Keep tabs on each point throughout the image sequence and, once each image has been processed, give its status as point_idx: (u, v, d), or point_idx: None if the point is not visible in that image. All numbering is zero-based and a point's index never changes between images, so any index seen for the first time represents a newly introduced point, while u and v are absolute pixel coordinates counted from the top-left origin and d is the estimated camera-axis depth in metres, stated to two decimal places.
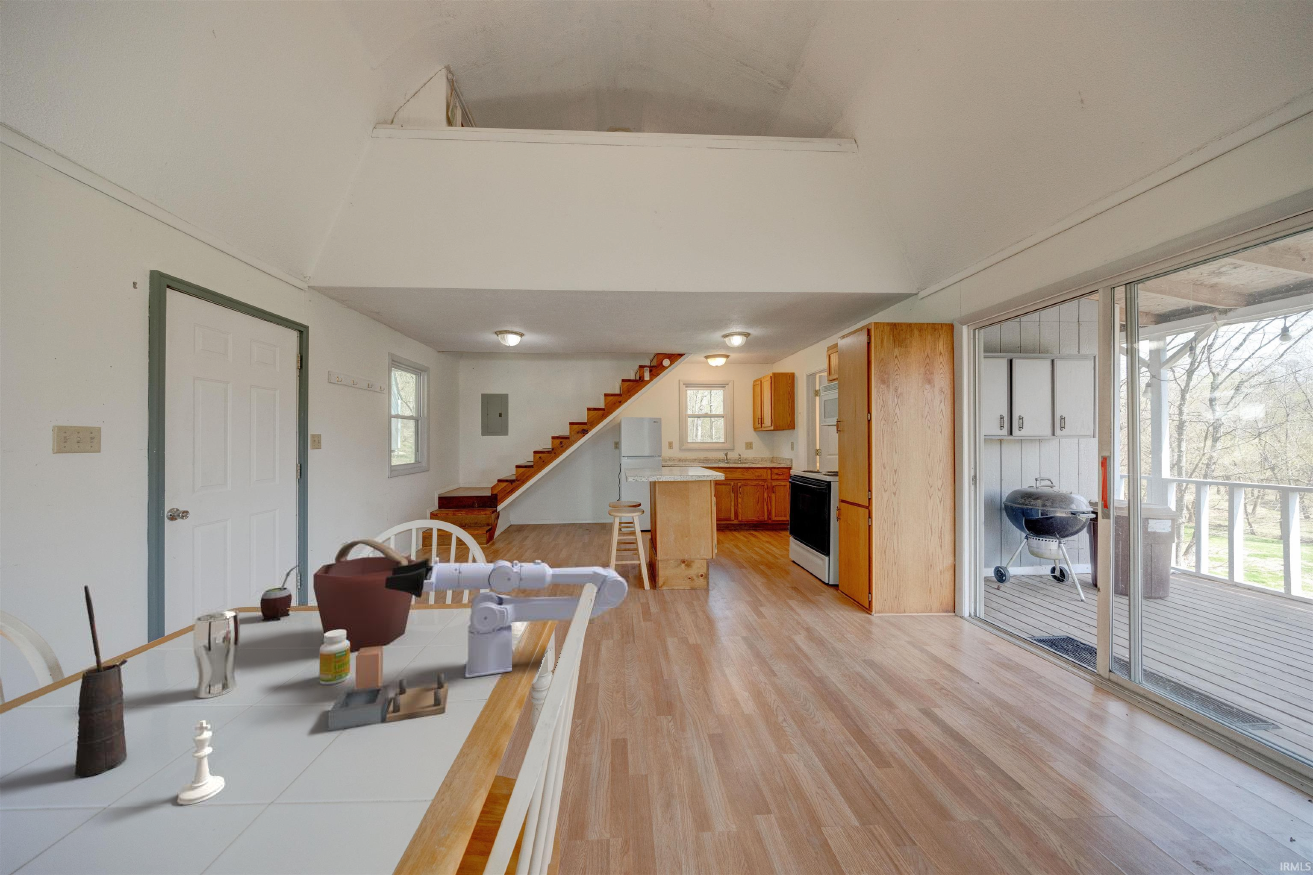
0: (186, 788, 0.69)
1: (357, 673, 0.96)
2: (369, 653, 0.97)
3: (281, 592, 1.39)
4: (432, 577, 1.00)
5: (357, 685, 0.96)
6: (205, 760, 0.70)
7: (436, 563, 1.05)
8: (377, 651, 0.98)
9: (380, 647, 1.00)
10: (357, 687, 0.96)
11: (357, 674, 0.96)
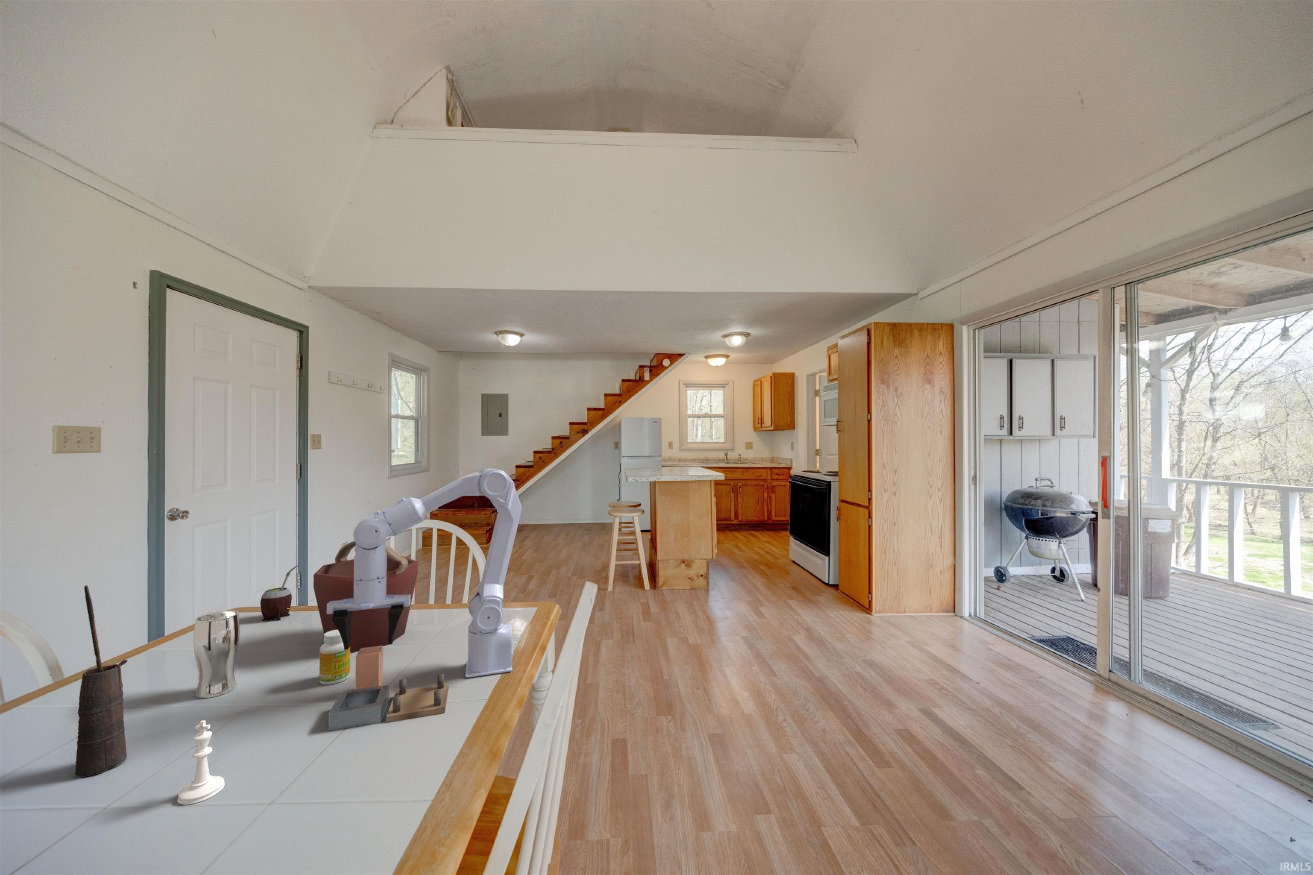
0: (186, 788, 0.69)
1: (357, 673, 0.96)
2: (369, 653, 0.97)
3: (281, 592, 1.39)
4: (399, 600, 0.99)
5: (357, 685, 0.96)
6: (205, 760, 0.70)
7: (372, 604, 0.96)
8: (377, 651, 0.98)
9: (380, 647, 1.00)
10: (357, 687, 0.96)
11: (357, 674, 0.96)
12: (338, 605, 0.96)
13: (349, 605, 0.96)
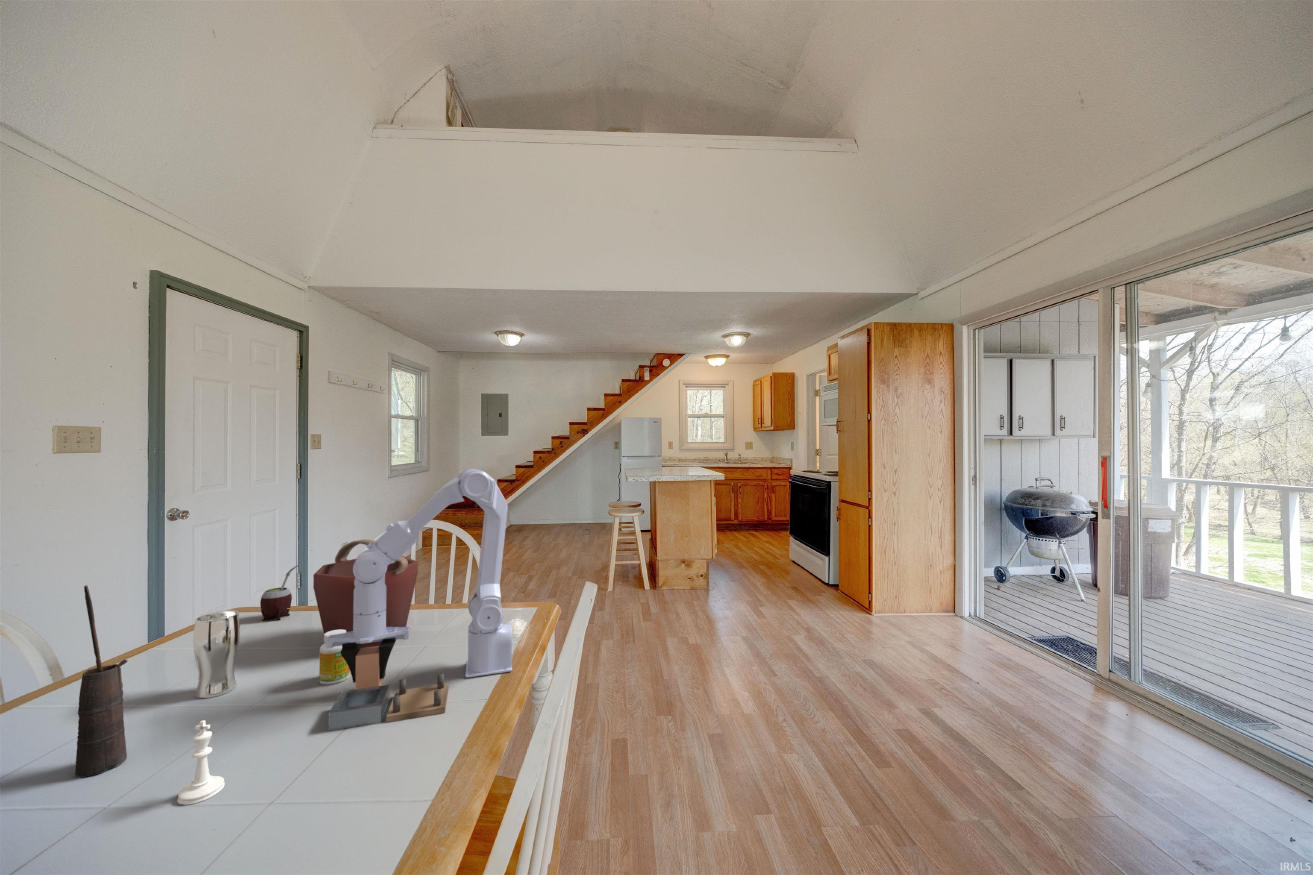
0: (186, 788, 0.69)
1: (357, 673, 0.96)
2: (369, 653, 0.97)
3: (281, 592, 1.39)
4: (399, 633, 0.99)
5: (357, 685, 0.96)
6: (205, 760, 0.70)
7: (372, 638, 0.96)
8: (377, 651, 0.98)
9: None
10: (357, 687, 0.96)
11: (357, 674, 0.96)
12: (338, 639, 0.96)
13: (349, 639, 0.96)
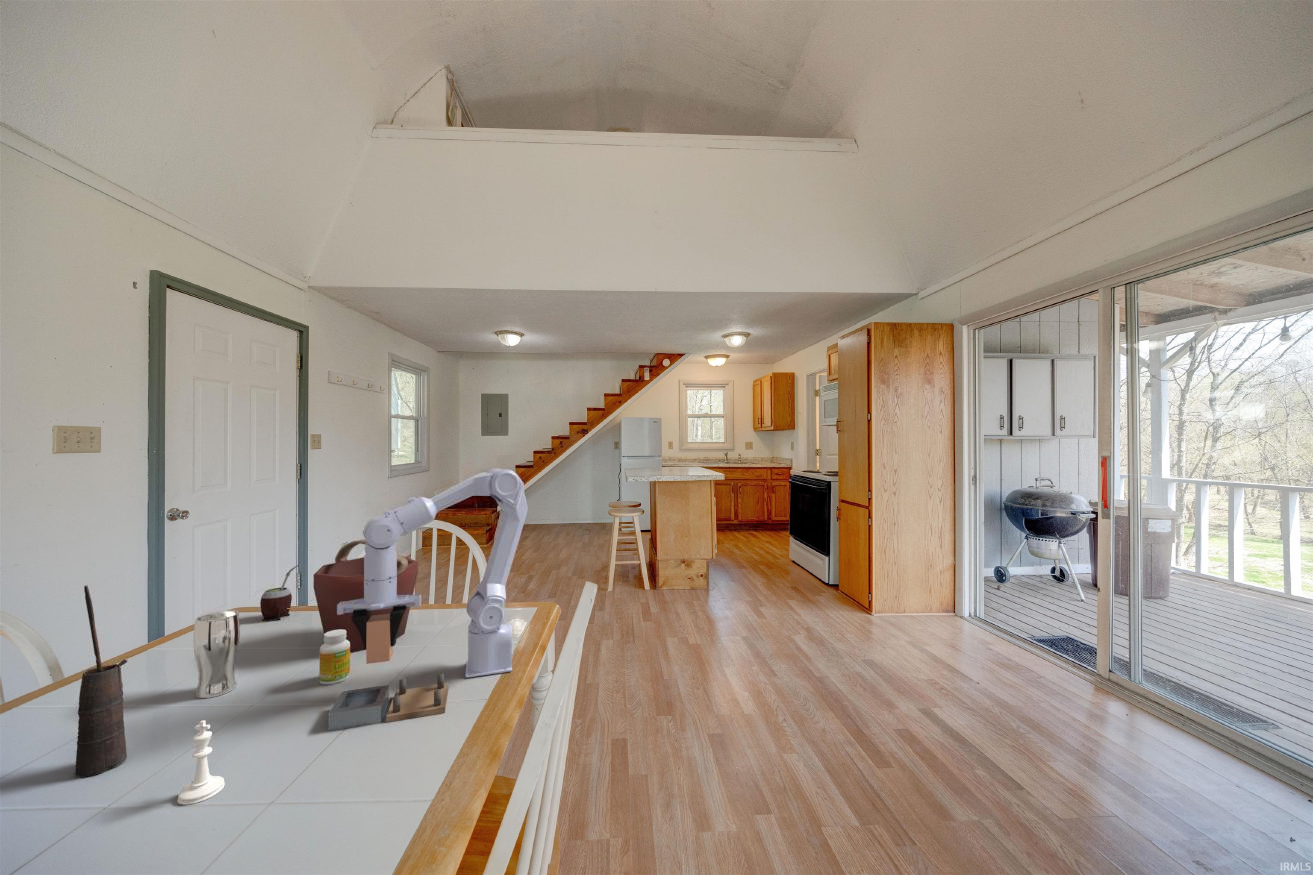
0: (186, 788, 0.69)
1: (368, 639, 0.95)
2: (380, 620, 0.96)
3: (281, 592, 1.39)
4: (410, 600, 0.98)
5: (368, 652, 0.95)
6: (205, 760, 0.70)
7: (383, 604, 0.95)
8: (387, 618, 0.97)
9: None
10: (368, 654, 0.95)
11: (368, 640, 0.95)
12: (348, 605, 0.95)
13: (359, 605, 0.95)
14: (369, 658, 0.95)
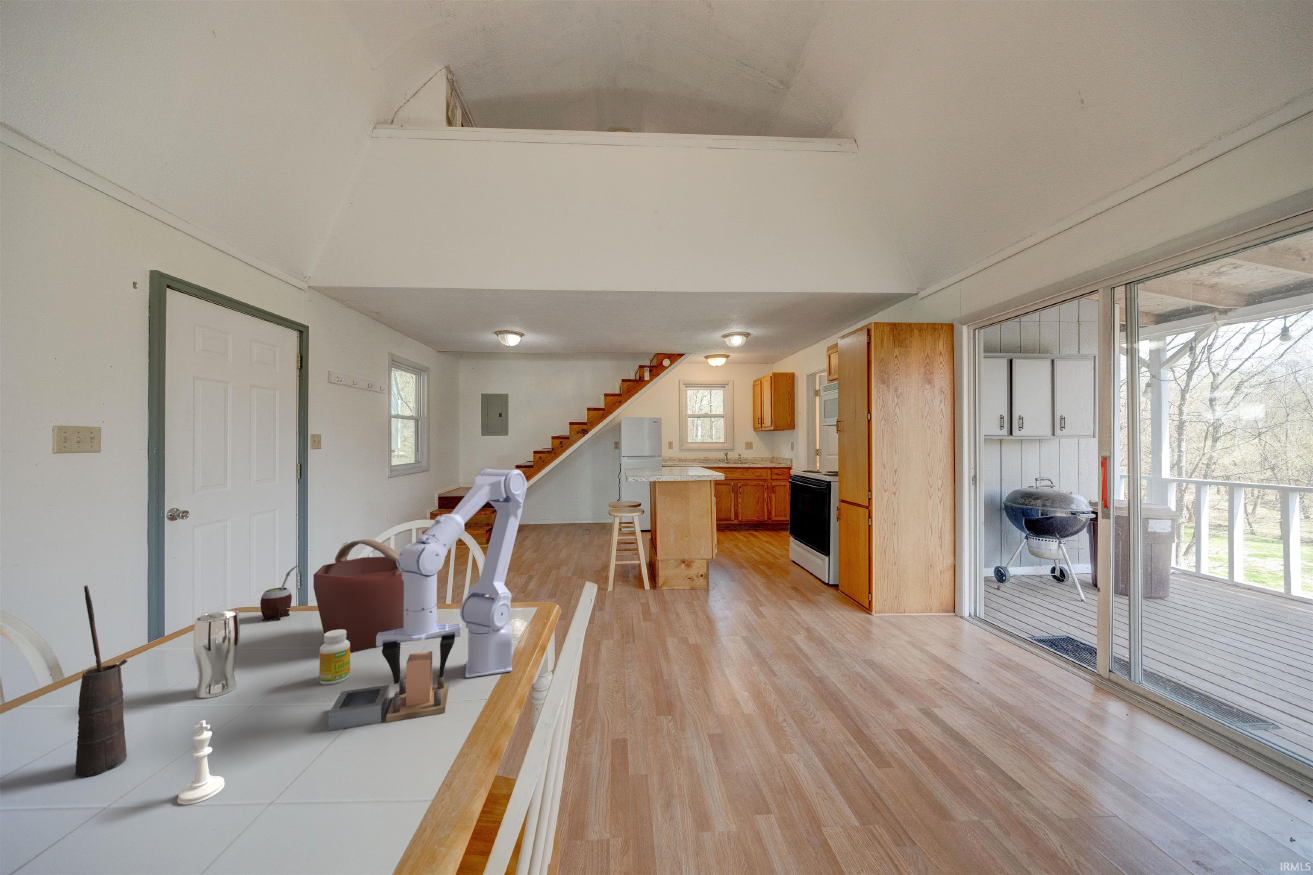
0: (186, 788, 0.69)
1: (408, 680, 0.91)
2: (420, 660, 0.92)
3: (281, 592, 1.39)
4: (450, 630, 0.94)
5: (408, 693, 0.91)
6: (205, 760, 0.70)
7: (424, 636, 0.91)
8: (427, 657, 0.93)
9: (430, 653, 0.95)
10: (408, 695, 0.91)
11: (408, 681, 0.91)
12: (388, 637, 0.91)
13: (400, 637, 0.91)
14: (409, 700, 0.91)
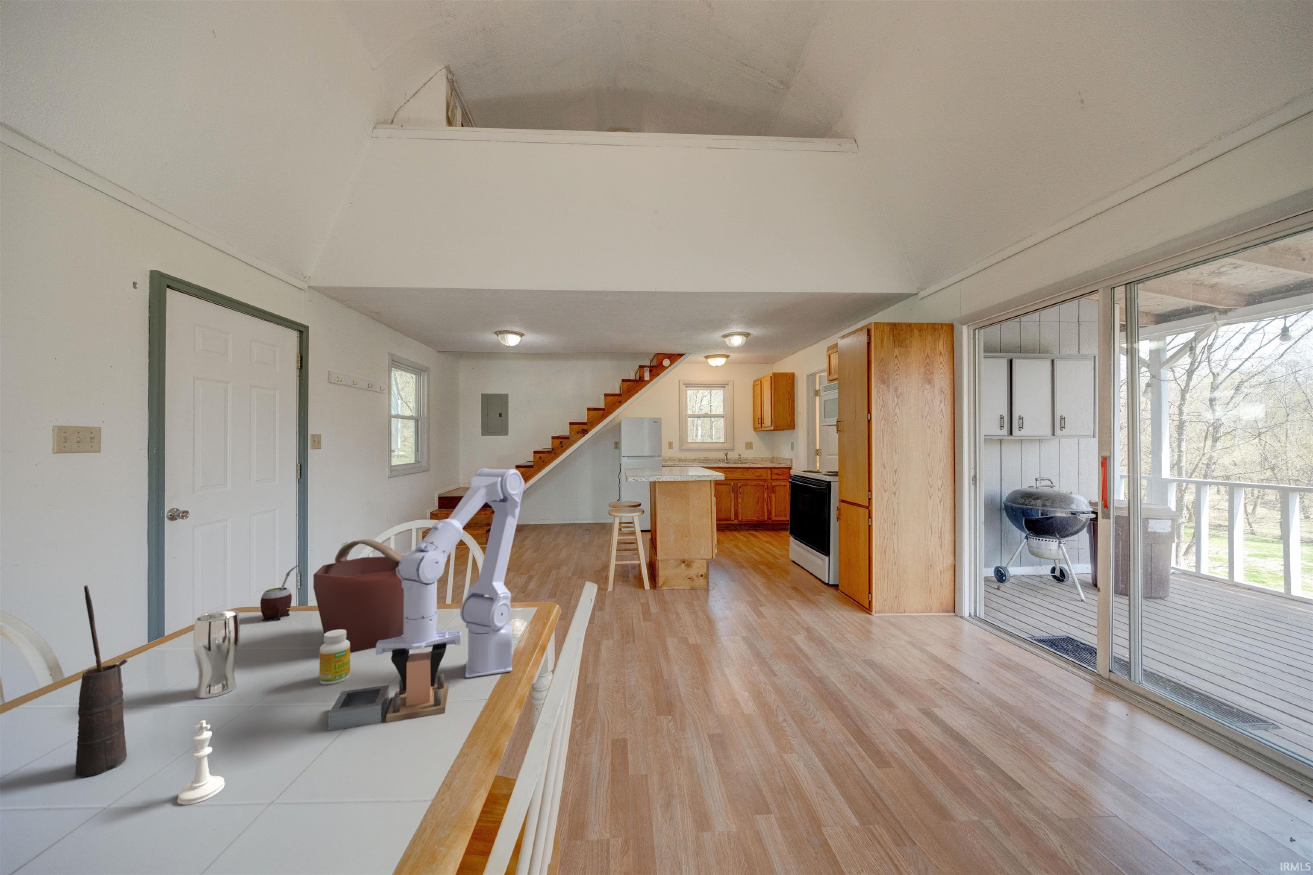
0: (186, 788, 0.69)
1: (408, 680, 0.91)
2: (420, 659, 0.92)
3: (281, 592, 1.39)
4: (450, 638, 0.94)
5: (408, 693, 0.91)
6: (205, 760, 0.70)
7: (424, 644, 0.91)
8: (427, 657, 0.93)
9: (430, 653, 0.95)
10: (408, 695, 0.91)
11: (408, 681, 0.91)
12: (388, 645, 0.91)
13: (399, 645, 0.91)
14: (409, 700, 0.91)
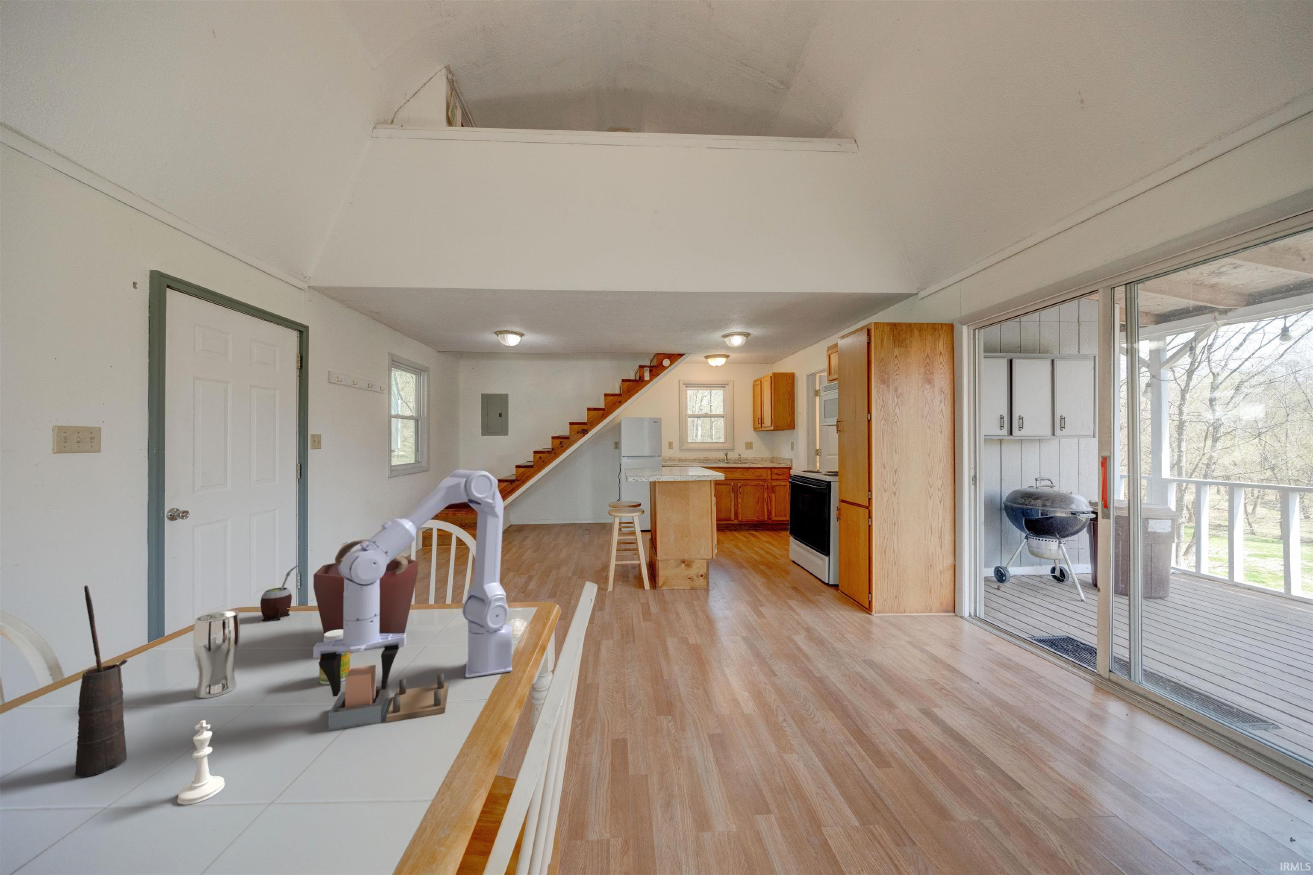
0: (186, 788, 0.69)
1: (347, 696, 0.87)
2: (360, 674, 0.88)
3: (281, 592, 1.39)
4: (393, 640, 0.91)
5: None
6: (205, 760, 0.70)
7: (364, 646, 0.87)
8: (369, 671, 0.90)
9: (373, 667, 0.91)
10: None
11: (347, 697, 0.87)
12: (326, 648, 0.87)
13: (338, 648, 0.87)
14: None
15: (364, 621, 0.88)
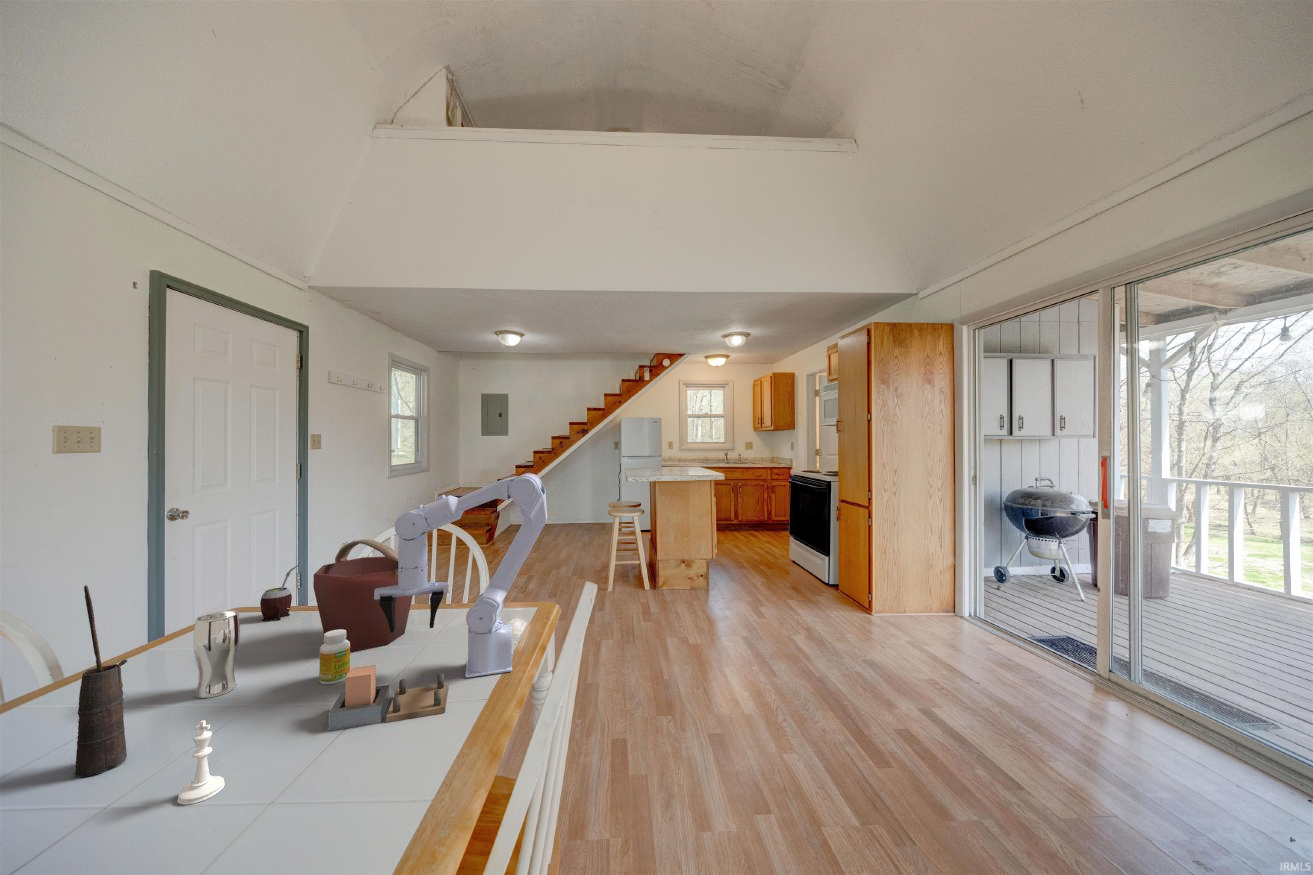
0: (186, 788, 0.69)
1: (347, 696, 0.87)
2: (360, 674, 0.88)
3: (281, 592, 1.39)
4: (439, 587, 1.07)
5: None
6: (205, 760, 0.70)
7: (416, 590, 1.04)
8: (369, 671, 0.90)
9: (373, 667, 0.91)
10: None
11: (347, 697, 0.87)
12: (384, 591, 1.04)
13: (395, 591, 1.04)
14: None
15: (416, 569, 1.05)
